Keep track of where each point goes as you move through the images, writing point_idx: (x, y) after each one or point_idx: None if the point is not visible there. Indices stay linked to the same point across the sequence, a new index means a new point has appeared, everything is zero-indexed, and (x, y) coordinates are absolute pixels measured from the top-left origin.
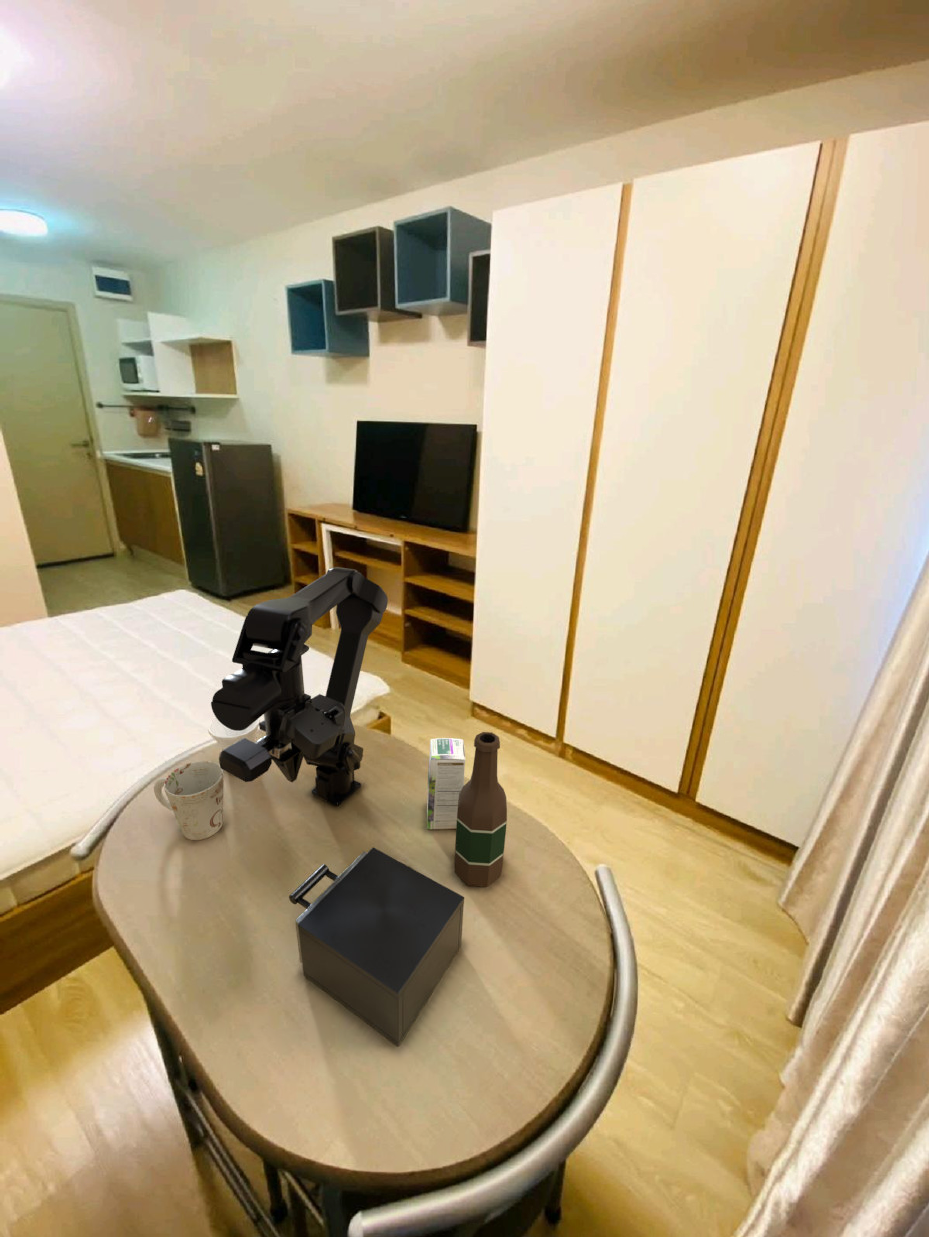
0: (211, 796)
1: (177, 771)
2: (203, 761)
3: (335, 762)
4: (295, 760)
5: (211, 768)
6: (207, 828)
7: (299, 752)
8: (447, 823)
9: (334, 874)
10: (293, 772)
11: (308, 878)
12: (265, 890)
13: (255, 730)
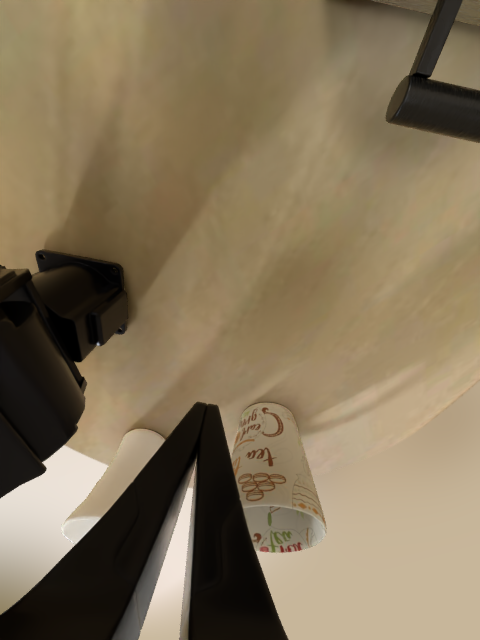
0: (284, 480)
1: (263, 544)
2: None
3: (16, 327)
4: (166, 521)
5: None
6: (285, 420)
7: (119, 620)
8: None
9: (440, 22)
10: (208, 451)
11: (473, 122)
12: (358, 272)
13: (95, 507)
